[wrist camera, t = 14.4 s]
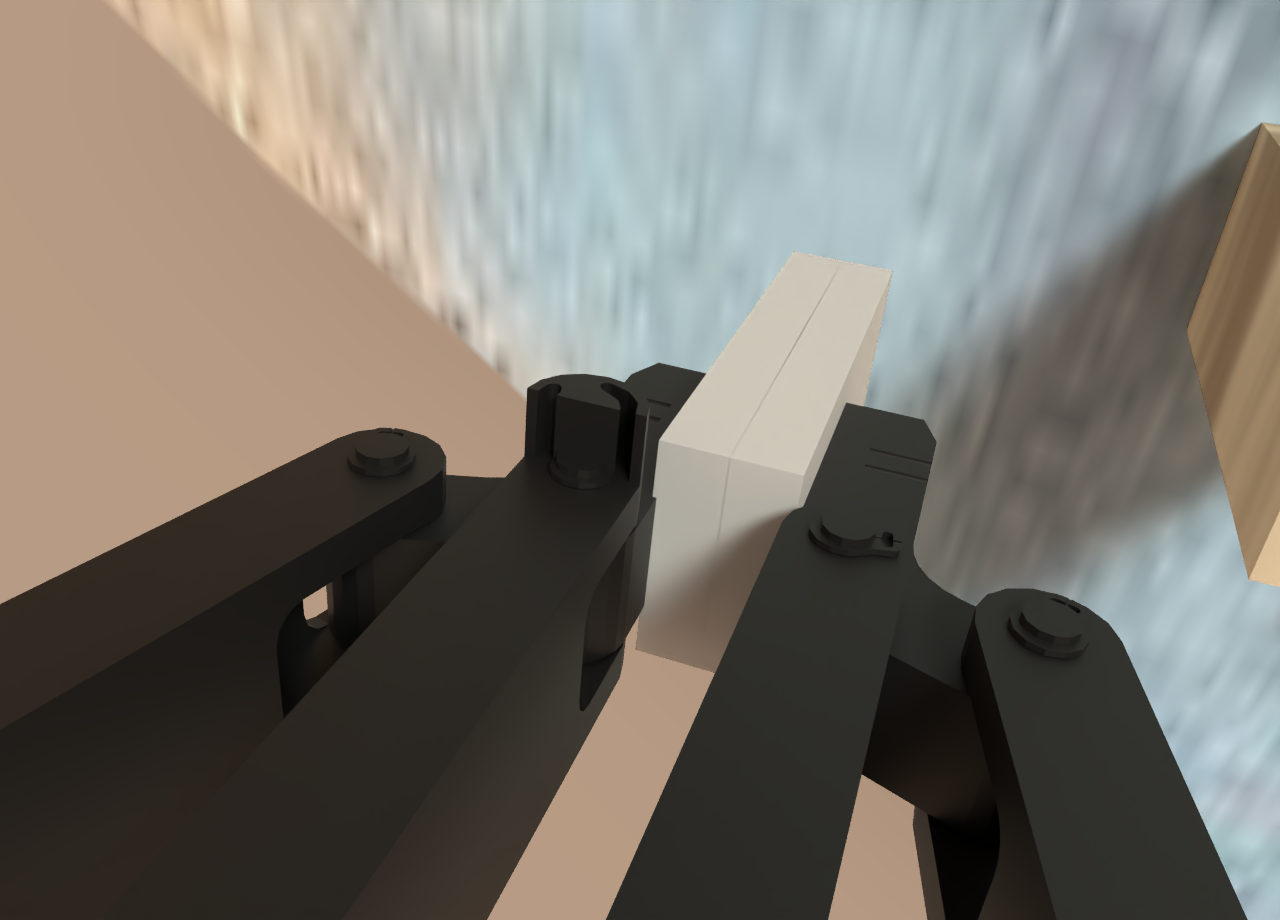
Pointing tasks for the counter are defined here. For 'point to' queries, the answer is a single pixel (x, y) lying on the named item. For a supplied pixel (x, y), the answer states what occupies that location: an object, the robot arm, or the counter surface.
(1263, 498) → the maple block
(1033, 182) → the counter surface
